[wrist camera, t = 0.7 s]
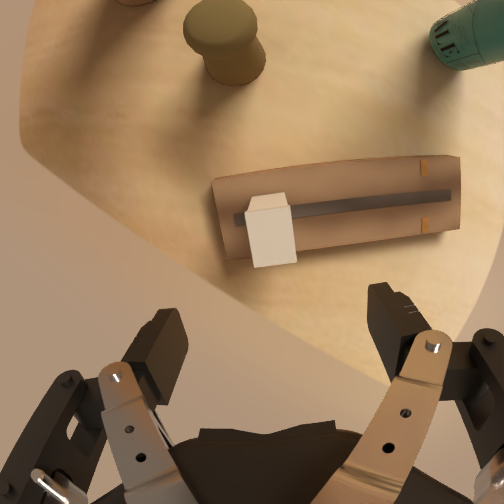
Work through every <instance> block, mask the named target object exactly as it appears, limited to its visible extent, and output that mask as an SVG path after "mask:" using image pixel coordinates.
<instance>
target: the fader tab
mask: <svg viewBox="0 0 504 504" xmlns="http://www.w3.org/2000/svg"><path fill="white" fill-rule="evenodd" d="M244 214H245V219H246V225H247V230H248V236H249V241H250V247H251V253H252V258H253V264H254V268H257V267H265V266H272V265H280V264H288V263H295V262H297V258H296V249H295V241H294V233H293V225H292V217H291V210H290V205H288V203H287V200H286V196H285V192H282V193H275V194H268V195H261V196H254V197H252V198H251V201H250V204H249V207H248V210H247V211H245V213H244Z"/></svg>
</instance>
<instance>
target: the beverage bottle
mask: <svg viewBox="0 0 504 504" xmlns="http://www.w3.org/2000/svg"><path fill="white" fill-rule="evenodd" d="M460 8H461V7H460ZM458 9H459V8H458ZM455 11H456V10H455ZM444 17H445V16H444ZM444 17H443V18H444ZM441 19H442V18H441ZM441 19H440V20H439V22H438V21H437V22H436V23H435V22H434V25H433V26H432V27H431V30H430V36H429V37H430V43H431V46H432V48H433V50H434V52H435V54H436V55H437V57H438V58H439V59H440V60H441V61H442V62H443V63H444V64H445V65H447V66H448V67H450V68H452V69H455V70H457V71H458V70H460V71H463V70H467V69H472V68H475V67H479V66H484V65H486V66H487V65H488V64H490V65H491V64H492V63H495V64H496V62H498V63H499V62H500V61H504V0H477V1H475V2H474V3H471V4H470V3H469V5H467V6H466V7H464V8H462V9H460V10H458V11H456V12H455V13H453V14H452V12H451V15H450V13H449V16H447V17H446V18H444V19H442V20H441Z"/></svg>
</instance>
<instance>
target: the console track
mask: <svg viewBox="0 0 504 504" xmlns="http://www.w3.org/2000/svg"><path fill="white" fill-rule="evenodd" d="M211 183H212V188H213V193H214V198H215V203H216V208H217V213H218V218H219V223H220V228H221V232H222V237H223V242H224V247H225V252H226V256H227V260H235V259H243V258H250V257H252V253H251V247H250V241H249V236H248V230H247V225H246V219H245V214H244V213H245V211H247V210H248V207H249V204H250V201H251V198H252V197H254V196H261V195H268V194H275V193H282V192H285V196H286V200H287V203H288V205H290V210H291V217H292V225H293V233H294V241H295V249H296V251H303V250H311V249H318V248H325V247H333V246H340V245H348V244H355V243H362V242H370V241H377V240H384V239H392V238H399V237H406V236H413V235H420V234H428V233H435V232H442V231H449V230H456V229H460V211H461V170H460V157H455V156H449V155H432V156H403V157H384V158H370V159H357V160H345V161H335V162H325V163H316V164H307V165H299V166H291V167H283V168H276V169H269V170H262V171H256V172H249V173H243V174H237V175H231V176H225V177H220V178H216V179H214V180H213V181H211Z"/></svg>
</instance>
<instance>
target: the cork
mask: <svg viewBox="0 0 504 504" xmlns="http://www.w3.org/2000/svg"><path fill="white" fill-rule="evenodd" d="M256 33H257V17H256V15H255V13H254V11H253V9H252V8H251V7H250V6H248V5H247V4H246V3H245V2H244V1H242V0H202V1H201V2H199V3H198V4H196V5H195V6H194V7H193V8H192V9H191V10H190V11H189V13H188V14H187V15H186V18H185V20H184V23H183V34H184V37H185V40H186V42H187V44H188V45H189V46H190V47H191V48H192V49H193V50H194V51H195V52H196V53H198V54H200V55H202V56H203V59H204V62H205V65H206V68H207V70H208V73H209V74H210V75H211V77H212V78H213V79H214V80H216V81H217V82H219V83H221V84H224V85H228V86H241V85H244V84H247V83H250V82H251V81H253V80H254V79H256V78H257V77H258V76H259V75H260V73H261V72H262V71H263V69H264V66H265V63H266V57H265V52H264V49H263V47H262V45H261V43H260V42H259V40H258V38H257V37H256Z"/></svg>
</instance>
